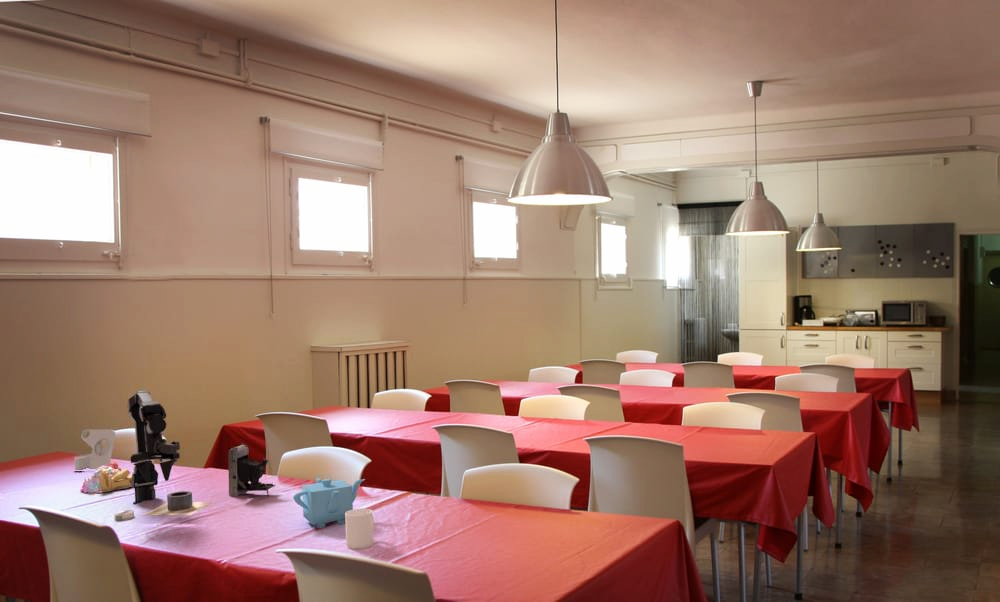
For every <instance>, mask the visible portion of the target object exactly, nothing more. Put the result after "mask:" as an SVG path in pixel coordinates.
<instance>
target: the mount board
mask: <svg viewBox="0 0 1000 602" xmlns="http://www.w3.org/2000/svg"><path fill="white" fill-rule="evenodd" d="M212 503H213V501H192V507H191V508H189V509H185V510H179V511H170V510H168V504H167V502H166V503H163V504H162V505H159V506H157V507H156V508H153V509H151V510H150V511H148V512H146V513H144V514H143V516H191V515H193V514H195V513H197V512H198V511H200V510H201V509H203V508H206V507H207V506H209V505H211V504H212Z"/></svg>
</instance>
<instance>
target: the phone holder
mask: <svg viewBox="0 0 1000 602" xmlns="http://www.w3.org/2000/svg"><path fill="white" fill-rule="evenodd" d="M88 432H89V435H88V436H86V435H87V433H88ZM115 437H116V431H115V430H114V429H111V428H110V429H107V428H106V429H100V428H99V429H97V428H96V429H84V430H83V431H82V433H81V436H80V438H81V439H82V440H83V442H85V443H86V444H87V445H88V446H89V447H90V448H91V453H86V454H81V455H77V456H74V470H83V469H86V468H89V469H97V468H99V467H101V466H108V465H109V464H110V463H111V461H112V455H113V448H114V443H115V439H116V438H115ZM103 442H106V444H105V446H103V445H102V443H103Z"/></svg>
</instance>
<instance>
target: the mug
mask: <svg viewBox="0 0 1000 602" xmlns="http://www.w3.org/2000/svg"><path fill="white" fill-rule="evenodd" d="M344 520H345V524H344V525H345V542H346V547H347V548H348V549H351V550H363V549H368V548H371V547H372V546H373V544H374V528H375V527H374V526H375V520H374V515H373V510H372V509H369V508H355V509H354V508H353V510H350V511H347V512H346V513H345V519H344Z"/></svg>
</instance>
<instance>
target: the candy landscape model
mask: <svg viewBox="0 0 1000 602" xmlns="http://www.w3.org/2000/svg"><path fill="white" fill-rule="evenodd" d="M90 476H91V477H90V478H89V477H87V479H86V478H84V482H82V483H83V484H82V485H81V489H79V490H80V492H81V491H83V492H82V493H85V494H93V493H105V492H106V493H107V492H111V491H114V490H123V489H128V488H131V487H132V483H131V480H132V475H131V471H130V470H129V469H127V468H124V469H122V468H121V467H119V464H118V463H117V462H116V461H112V462H110V464H109V465H108V466H101V467H99V468H97V469H96V471H95V472H93V474H91V475H90ZM135 484H137V483H135ZM132 488H133V487H132ZM86 492H88V493H86Z"/></svg>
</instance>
